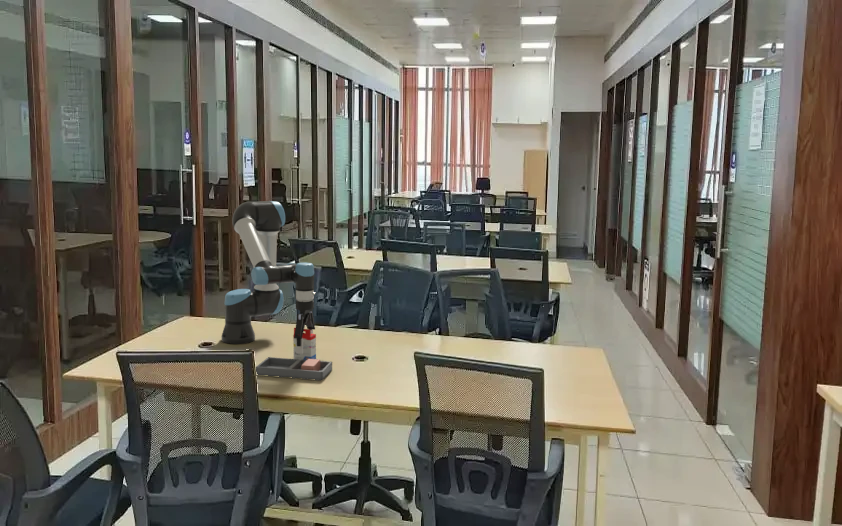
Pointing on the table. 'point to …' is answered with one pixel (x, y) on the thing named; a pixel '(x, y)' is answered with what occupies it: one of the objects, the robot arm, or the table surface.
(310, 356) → the ink box
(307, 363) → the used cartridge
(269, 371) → the caddy
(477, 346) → the table surface
